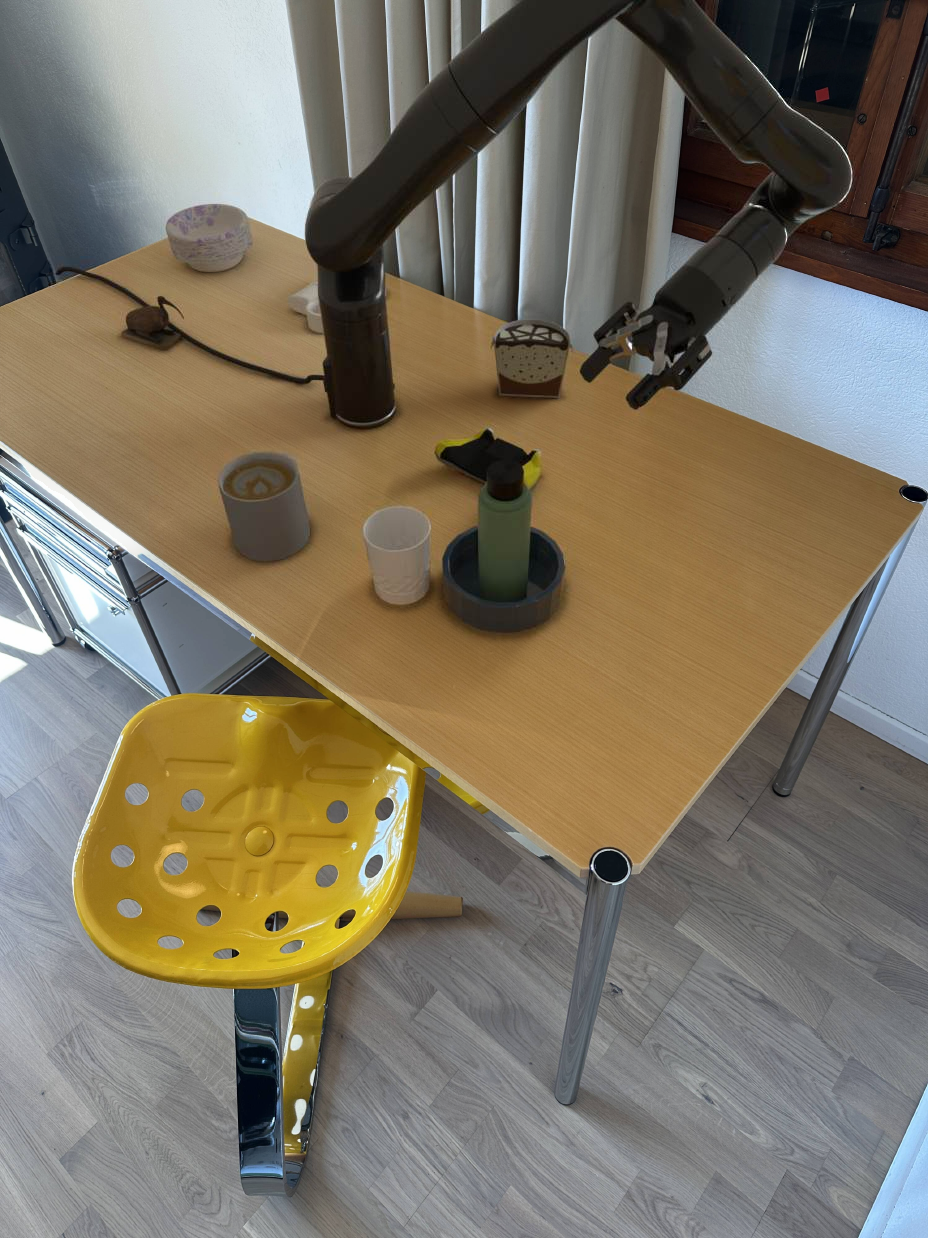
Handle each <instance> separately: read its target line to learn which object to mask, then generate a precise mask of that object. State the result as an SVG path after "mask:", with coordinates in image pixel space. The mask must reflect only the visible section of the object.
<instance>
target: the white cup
mask: <svg viewBox="0 0 928 1238" xmlns="http://www.w3.org/2000/svg"><path fill="white" fill-rule="evenodd" d="M431 528H432V527H431V522H430V519H429V518H428V516H427V515H426V514H425V513H423V512H422V511H420V510H419V509H416V508H414V507H411V506H405V505H393V506H387V507H384V508H383V507H382V508H381V509H378V510H377V511H375V512H373V513H371V514H370V515H369V516H368V517H367V519H365V521H364V523H363V525H362V536H363V541H364V545H365V551H366V556H367V562H368V565H369V570H370V574H371V576H372V580H373V585H374V591H375V593H376V594H377V595H378V597H379V598H380V600H381V601H384V602H387V603H388V604H391V605H399V606H404V605H409V604H412V603H416V602H418V601H419V600H421V599H422V598H424V597H425V596H426V594H427V592H428V591H429V589H430V573H431V561H432V560H431V559H432V558H431V557H432V552H431V551H432V548H431V547H432V546H431V545H432V543H431V542H432V541H431V540H432V539H431V538H432V537H431V535H432V533H431V532H432V531H431V530H432V529H431Z"/></svg>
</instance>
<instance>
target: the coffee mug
mask: <svg viewBox="0 0 928 1238" xmlns="http://www.w3.org/2000/svg"><path fill="white" fill-rule="evenodd" d="M217 486H218V490H219V493H220V496H221V501H222V504H223V507H224V510H225V514H226V517H227V521H228V524H229V527H230V531H231V535H232V538H233V542H234V545H235V548H236V549H237V551H238V552H239V553H240V555H243V556H244V557H246V558H247V559H250V560H253V561H258V562H276V561H281V560H284V559H287V558H289V557H292V556H294V555H296V554H297V553H298V552H300V551H301V550H302V549H303V548H305V546H306V545H307V543H308V541H309V540H310V538H311V526H310V521H309V517H308V512H307V511H308V510H307V506H306V500H305V496H304V491H303V485H302V481H301V475H300V471H299V467H298V462H297V460H296V458H295V456H294V455H292V454H290V453H286V452H284V453H281V452H276V451H265V450H264V451H253V452H249V453H246V454H242V455H241V456H238V457H236V458H234V459H232V460H230V461H229V462H228V463H226V464H225V465H224V466H223V467H222V469H221V471H220V472H219V475H218V478H217Z"/></svg>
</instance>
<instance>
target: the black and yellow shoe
mask: <svg viewBox="0 0 928 1238" xmlns="http://www.w3.org/2000/svg"><path fill="white" fill-rule="evenodd" d="M434 448H435V449H434V455H435V457H436V459H437V461H438V462H440V463H441V464H443V465H444V466H445V467H447V468H450V469H453V470H456V471H458V472H460V473H462V474H463V475H465V476H468V477H470V478H472V479H475V480H476V481H479V482H481V483H483V484H485V483H486V482H487V470H488V468H489V466H490V465H491V464H493V463H495V462H498V461H503V460H508V461H513V462H516V463H518V464H520V465H521V466H522V467H523V469H524V483H525V484H526V486H527V488H528V489H529V490H530V492H531V493H532V491H533V490H534V489H535V488H536V487H537V486H538V483H539V481H540V479H541V470H542V461H541V457H542V451H541V449H534V450H533V449H532V450H531V451H530V452H529V453H527V452H526V451H525V449H523V448H522V447H519V446H518V445H515V444H512V443H511V442H508V441H506V440H504V439H502V438H499V437H496V438H495V436H494V429H493V428H492V427H487V428H483V429H481V430H480V431H479V432H477V433H476V434H475V435H474V436H472V437H470V438H469V437H468V438H449V439H446V438H445V439H443V440H442V441H440V442H438V443H437V444H436V446H435V447H434Z"/></svg>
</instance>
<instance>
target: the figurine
mask: <svg viewBox="0 0 928 1238" xmlns="http://www.w3.org/2000/svg"><path fill="white" fill-rule="evenodd" d="M156 299H157V304H158V305H149V306H146V307H143V306H141V307H139V308H135V309H134V310H131V311H129V312H127V314H126V315H125V324H126V327H127V328H126V329H124V330H123V331H120V334H121V336H122V337H123V338H125V339H129V340H132V341H135V342H137V343H141V344H144V345H147V346H151V347H153V348H156V349H160V350H162V351H167V350H168V349H170V348H171V347H173V346H174V345H175V344H177V343H178V342H180V341H181V340H182V339H183V337H182V336H181V334H178V333H176V332H175V331H173V330H172V329H166V327H168V326H167V325H168V323H169V322H170V316H169V313H168V311H167V309H166V308H165V306H164V305H167V306H169V307H172V308H173V309H174V310H176V311H178V313H179V314H180V316H181V318H182V319H183V320H184V319H185V317H184V315H183V313H182V312H181V311H180V309H179V308H178V307H177V306H176V305H174V304H173V303H172V302H170V301H169V300H167V299H166V297H165V296H162V295H159V296H157V298H156Z"/></svg>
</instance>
